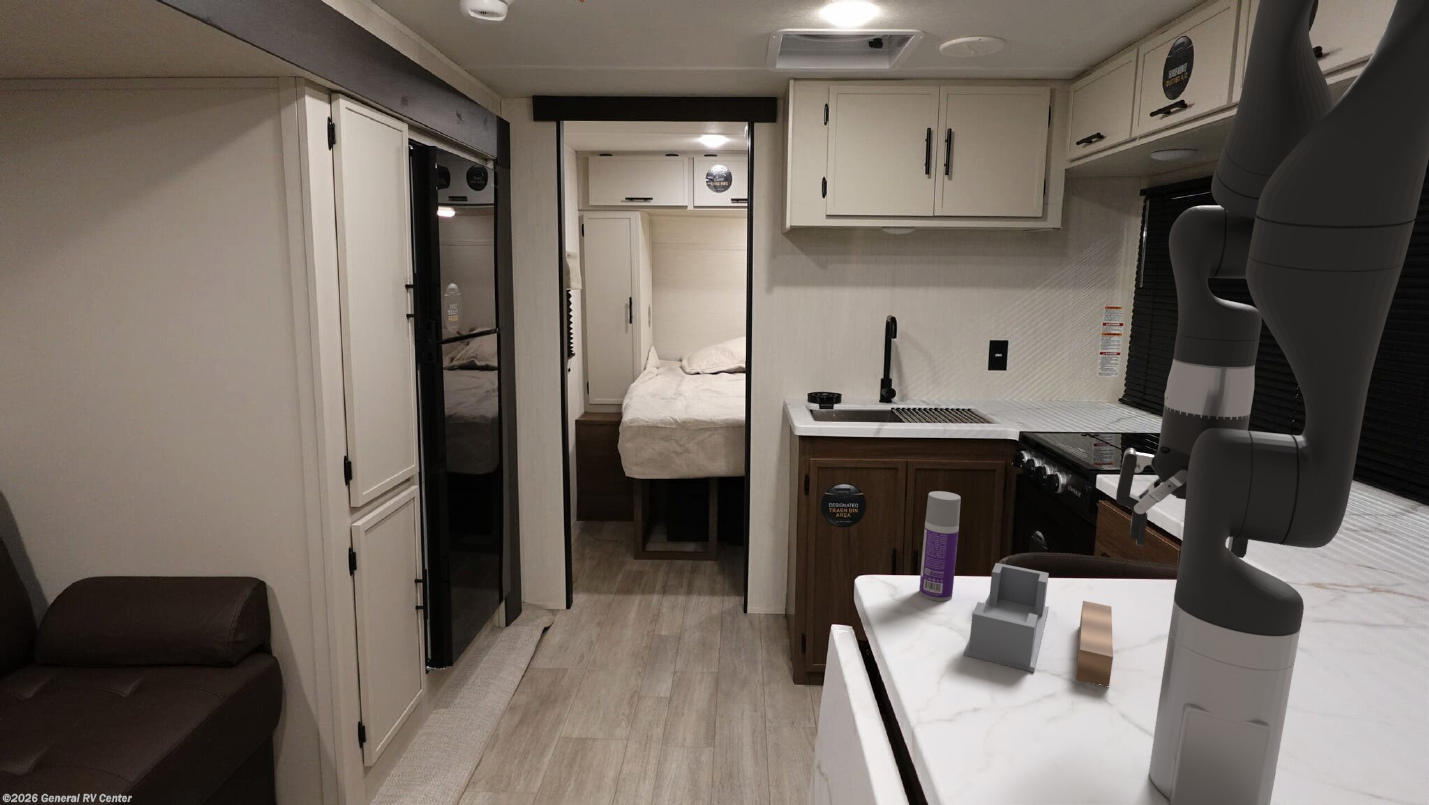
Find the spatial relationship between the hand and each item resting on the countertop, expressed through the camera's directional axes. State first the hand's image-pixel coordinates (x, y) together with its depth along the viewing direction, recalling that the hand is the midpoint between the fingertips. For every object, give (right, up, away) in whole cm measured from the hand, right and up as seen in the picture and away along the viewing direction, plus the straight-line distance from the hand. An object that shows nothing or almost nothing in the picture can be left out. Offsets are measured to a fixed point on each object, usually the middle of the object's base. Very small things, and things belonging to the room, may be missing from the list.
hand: (1184, 551), depth 82 cm
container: (-18, -12, +29) cm, 37 cm away
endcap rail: (-12, -14, +18) cm, 26 cm away
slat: (-4, -16, +13) cm, 20 cm away
